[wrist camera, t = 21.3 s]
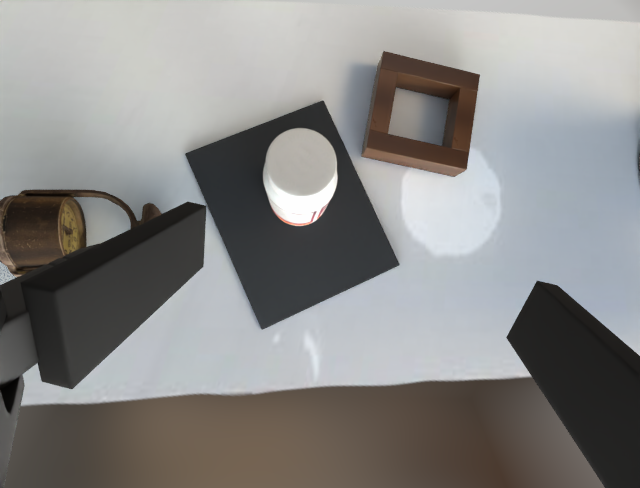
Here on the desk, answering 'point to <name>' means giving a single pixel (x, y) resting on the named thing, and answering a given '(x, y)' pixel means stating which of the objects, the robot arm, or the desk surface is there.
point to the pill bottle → (300, 175)
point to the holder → (432, 82)
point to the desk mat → (285, 239)
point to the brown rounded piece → (49, 226)
